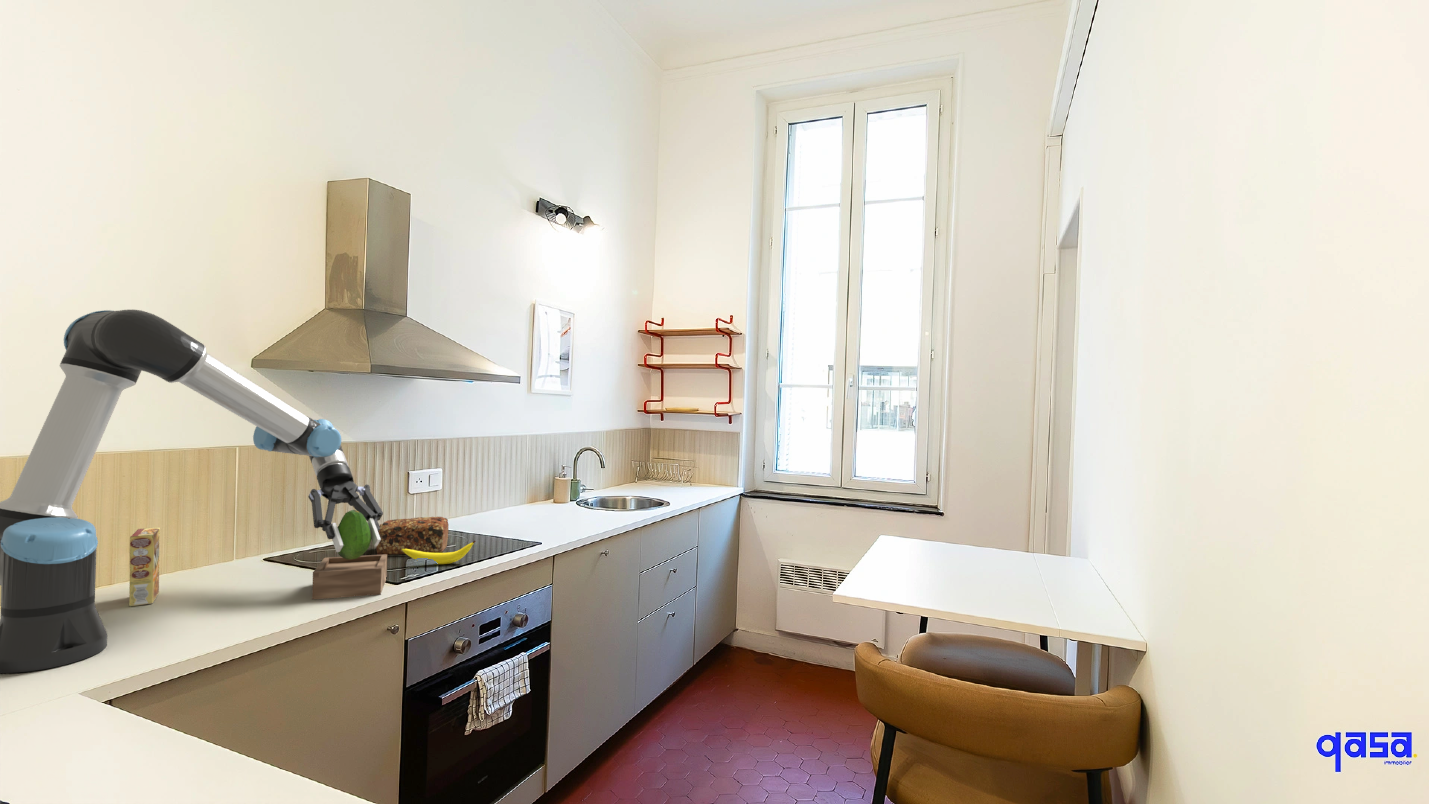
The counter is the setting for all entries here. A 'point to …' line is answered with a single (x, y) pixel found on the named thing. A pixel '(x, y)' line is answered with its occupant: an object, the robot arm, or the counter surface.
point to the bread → (413, 535)
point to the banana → (440, 555)
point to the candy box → (144, 566)
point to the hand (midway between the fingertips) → (359, 545)
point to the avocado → (354, 535)
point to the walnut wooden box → (349, 577)
